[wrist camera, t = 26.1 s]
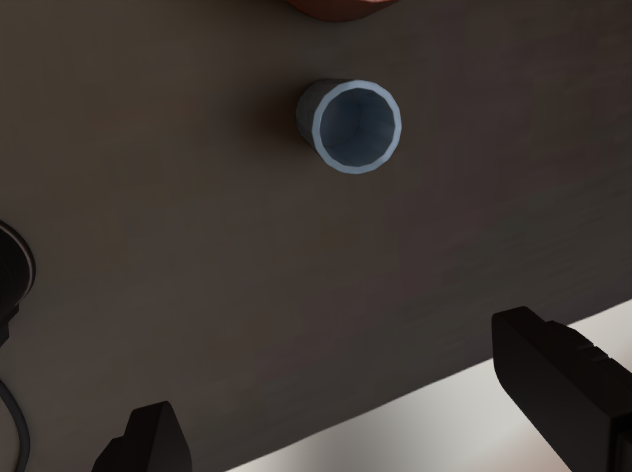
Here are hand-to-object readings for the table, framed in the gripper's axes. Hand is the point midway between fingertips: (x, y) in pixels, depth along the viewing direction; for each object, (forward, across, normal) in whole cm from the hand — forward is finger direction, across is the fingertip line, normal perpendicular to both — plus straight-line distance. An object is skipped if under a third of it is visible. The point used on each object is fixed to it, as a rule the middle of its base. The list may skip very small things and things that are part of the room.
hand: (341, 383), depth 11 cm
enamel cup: (+30, +6, +3) cm, 31 cm away
